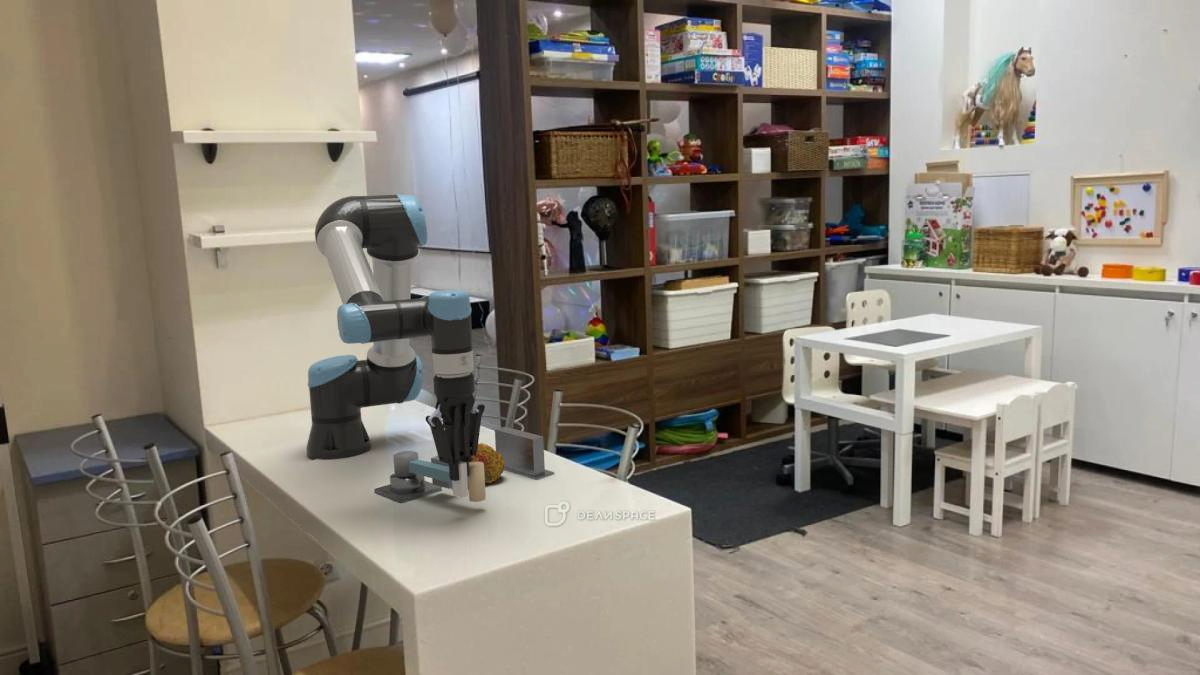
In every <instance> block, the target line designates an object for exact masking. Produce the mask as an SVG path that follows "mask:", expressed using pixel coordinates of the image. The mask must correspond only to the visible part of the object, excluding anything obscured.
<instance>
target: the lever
mask: <svg viewBox="0 0 1200 675" xmlns="http://www.w3.org/2000/svg"><path fill="white" fill-rule="evenodd" d="M392 456H393V457H392V458H393V468H394V469H393V470H394V471H393V472H394V473H395V475H396V476H398V477H409V476H414V475H416V474H418V475H421V476H424V478H425V477H426V478H430V479H431V480H432V481H431V483H433V485H437V486H440V487H442V488H445V489H447V490H448V489H449V490H450V489H453V486H452V480H450V476H449V475H450V474H449V464H448V463H444V462H441V461H440V460H439V457H438V455H436V456H434V457H431V458H430V461H427V460H423V459H419V453H418V452H417V451H414V450H406V451H405V450H404V451H399V452H396V453H394V454H393V455H392ZM467 482H468V500H469V502H473V503H474V502H475V503H476V502H477V503H479V502H483V501H485V500H486V499H487V496H486V483H485V475H484V463H483V462H471V463H469V477H467Z"/></svg>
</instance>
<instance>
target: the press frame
mask: <svg viewBox="0 0 1200 675" xmlns="http://www.w3.org/2000/svg"><path fill="white" fill-rule="evenodd" d="M494 438H495V444H494V445H495V451H496V452H497V453H499V454H501V456H502V457H503V459H504V461H505V462H504V470H503V471H505V472H509V473H513V474H515V475H518V476H523V477H525V478H528V479H532V480H536V481H538V480H542V479H544V478H547V477H551V476H552V475H555V471H552V470H549V469H546V468H545V466H546V464H545V448H544V447H545V446H544V445H545V444H544V441H545V440H544V436H542V435H538V434H535V433H531V432H527V431H525V430H524V431H523V430H520V429H515V428H513V427H507V426H503V427H499V428H496V429H494ZM442 488H443V487H440V486H437V485H433V483H432V482H430V481H427V480H425V476H421V475H418V474H416V475H414V476H409V477H398V476H396V475H395V472H394V473H392V474H390V475H389V484H386V485H382V486H379V487H376V488H373V490H374V493H375V494H377V495H378V496H379V495H380V496H382V497H384V498H387V499H390V500H392V501H395V502H397V503H400V504H402V503H405V502H406V503H407V502H409V501H412V500H415V499H419V498H422V497H426V496H429V495H433V494H435V493H438V492H441V491H443V489H442Z"/></svg>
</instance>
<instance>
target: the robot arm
mask: <svg viewBox="0 0 1200 675" xmlns="http://www.w3.org/2000/svg"><path fill="white" fill-rule="evenodd" d="M427 228H428V227H427V222H426V217H425V213H424V209H423V207H422V204H421V202H420V200H419V199H418V198H417V197H416V196H415V195H412V194H398V193H396V194H385V195H383V194H381V195H380V194H379V195H350V196H344V197H342V198H340V199H337V200H335V201H333V202H332V203H331V204H329V205H328V206H327V207H326V209H324V210H323V212H322V213H321V214H320V216H319V218H318V219H317V221H316V225H315V229H314V238H315V243H316V246H317V249H318V251H319V252H320V254H322V256H324V257H325V258H326V260H327V262H328V266H329V268H330V271H331V275H332V277H333V279H334V280H333V281H334V283H335V285H336V288H337V291H338V295H339V297H340V300H341V303H342V304H341V305H339V306H338V307H337V311H336V312H337V314H336V319H337V329H338V333H339V334H338V335H339V337H340V340H341V341H342V342H343V343H345V344H346V345H347V344H362V345H363V344H364V345H365V344H370V343H373V345H372V346H371V347H370V348H368V350H367V352H366V359H360V360H358V357H357V356H356V355H353V354H345V355H336V356H332V357H327V358H324V359H320V360H318V361H317V362H315V363H313V364H311V365H310V366H309V368H308V370H307V381H308V382H307V387H308V392H309V401H310V402H309V404H310V405H309V406H310V415H311V416H310V417H311V426H310V427H311V428H310V431H309V434H308V440H307V443H306V457H307V458H309V459H310V460H325V461H326V460H327V461H328V460H329V461H330V460H332V461H333V460H340V459H348V458H353V457H356V456H359V455H363V454H365V453H367V452H369V451H370V450H371V449H372V443H371V439H370V436H369V434H368V431H367V428H366V427H365V425H364V422H363V420H362V412H361V411H362V410H361V409H362V408H369V407H376V406H377V407H378V406H385V405H392V404H403V403H406V402H413V401H415V399H417V398H418V397H419V395H420V394H421V390H422V388H423V380H424V379H423V376H424V374H423V364H422V360H421V358H420V356H418V355H417V354H416V351H415V350H414V349H413V348H412V346H410V339H416V338H417V339H418V338H426V337H430V341H431V361H432V362H431V363H432V364H431V365H432V373H433V374H434V376H433V378H432V379H433V393H434V395H435V397H436V404H435V406H434V407H435V411H433V413H432V414H431V415H427V416H425V418H424V419H425V422H426V423H427V425H428V426H429V427H430V431H431V435H432V439H433V441H434V446H435V449H436V452H437V456H438V457H439V460H440V461H441V462H444V463H448V464H449V474H450V475H449V476H450V480H452V486H453V488H452V495H453V496H455V497H459V498H465V497H469V488H468V482H467V477H469V462H472V460H473V458H471V457H472V456H475V455H476V454H477V449H478V444H479V440H480V432H481V431H480V430H481V426H482V425H481V422H482V417H483V414H484V412H485V408H486V406H485V405H484V404H481V403H478V402H476V399H475V396H474V393H475V391H476V386H475V384H476V383H475V374H473V371H474V350H473V349H474V348H473V329H472V328H473V327H472V312H473V311H472V306H471V299H470V294H469V293H468V291H465V290H463V289H460V290H458V289H444V290H435V291H433V292H431V293H430V294H429V295H424V296H422V297H421V298H411V296H412V295H411V294H412V293H411V292H412V290H411V289H412V286H411V285H412V261H413V260H414V259H415V258H417V257H418V256H419V246H420V247H423V246H425V245H426V244H427V241H428V229H427ZM364 249H366V253H365V250H364ZM366 254H367V255H368V256H369V257H370V258H371V259H372V260H373V271H372V269H371V266H370V263H369V261H368V259H367V256H366Z"/></svg>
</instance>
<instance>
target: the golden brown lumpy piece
mask: <svg viewBox="0 0 1200 675" xmlns="http://www.w3.org/2000/svg"><path fill="white" fill-rule="evenodd" d="M471 458H473V460H472V462H483V463H484V475H485V484H493V483H494V482H496V481H497V479H500V478H501V476H502V474H503V472H504V471H505V470H504V462H505V461H504V459H503V457H502V456H501V454H499V453H497V452H496V449H494V448H493V447H492V446H490V445H488V444H486V443H483V442H480V443H478V449H477V454H476V455H475V456H472V457H471ZM469 463H471V462H469Z"/></svg>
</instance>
